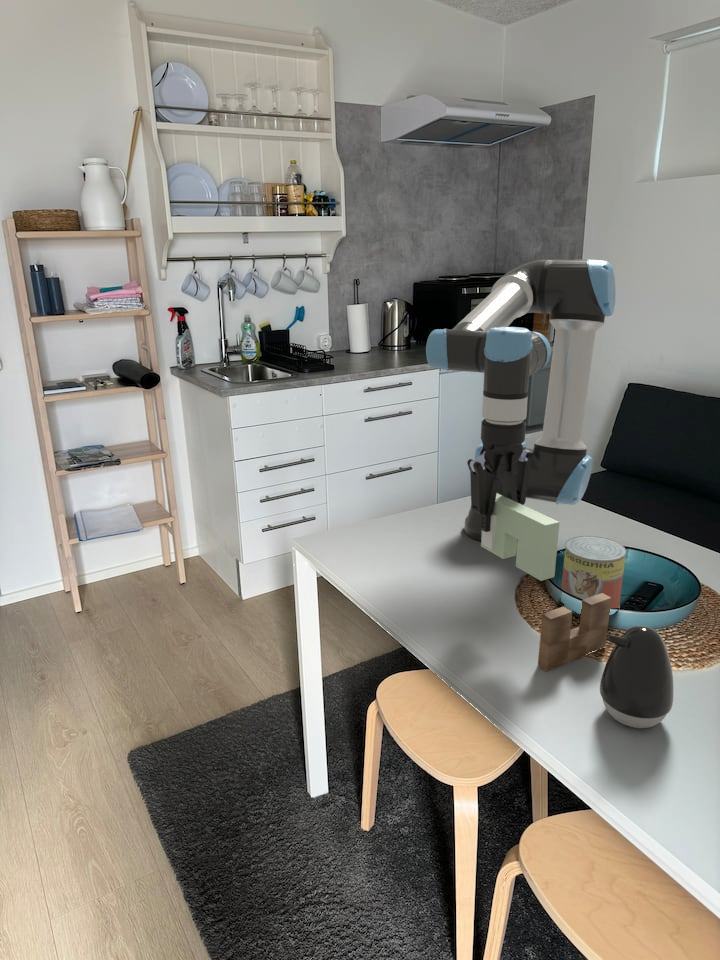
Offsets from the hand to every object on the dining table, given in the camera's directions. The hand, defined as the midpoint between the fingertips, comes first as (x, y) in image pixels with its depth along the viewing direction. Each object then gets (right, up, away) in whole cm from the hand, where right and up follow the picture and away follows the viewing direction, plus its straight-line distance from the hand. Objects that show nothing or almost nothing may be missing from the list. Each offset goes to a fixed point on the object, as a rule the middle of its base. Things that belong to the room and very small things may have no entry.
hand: (496, 544), depth 127 cm
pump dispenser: (+16, -24, -22) cm, 36 cm away
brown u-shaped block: (+12, -19, -7) cm, 23 cm away
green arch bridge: (+3, -3, -4) cm, 6 cm away
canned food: (+21, -13, +11) cm, 27 cm away
